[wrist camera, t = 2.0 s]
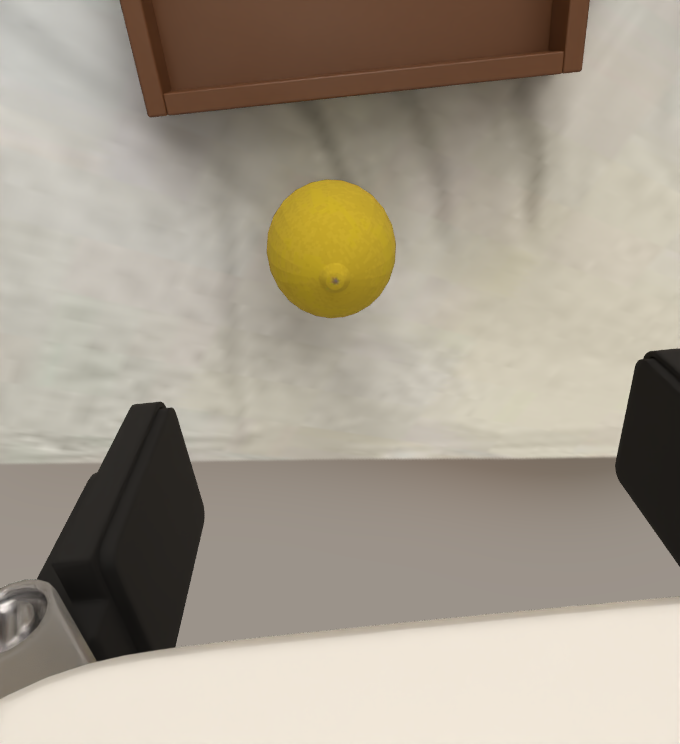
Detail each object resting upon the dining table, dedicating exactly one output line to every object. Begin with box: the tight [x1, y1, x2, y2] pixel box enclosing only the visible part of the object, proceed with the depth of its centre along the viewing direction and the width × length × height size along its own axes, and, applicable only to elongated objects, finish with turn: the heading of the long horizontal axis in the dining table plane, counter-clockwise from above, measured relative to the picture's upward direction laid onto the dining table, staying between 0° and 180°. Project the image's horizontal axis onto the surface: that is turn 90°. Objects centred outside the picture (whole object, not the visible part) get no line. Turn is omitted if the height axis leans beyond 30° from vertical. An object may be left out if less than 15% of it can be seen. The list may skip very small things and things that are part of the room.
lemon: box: [267, 180, 396, 318], centre depth 24 cm, size 6×6×8 cm
